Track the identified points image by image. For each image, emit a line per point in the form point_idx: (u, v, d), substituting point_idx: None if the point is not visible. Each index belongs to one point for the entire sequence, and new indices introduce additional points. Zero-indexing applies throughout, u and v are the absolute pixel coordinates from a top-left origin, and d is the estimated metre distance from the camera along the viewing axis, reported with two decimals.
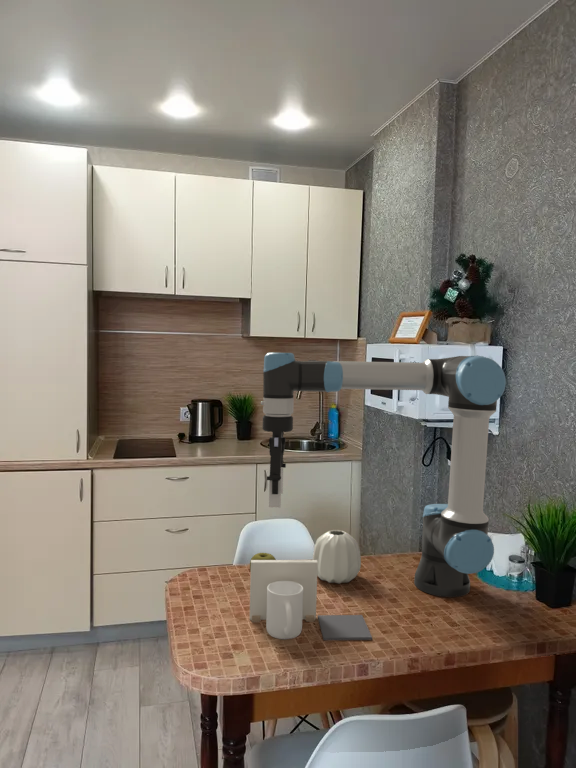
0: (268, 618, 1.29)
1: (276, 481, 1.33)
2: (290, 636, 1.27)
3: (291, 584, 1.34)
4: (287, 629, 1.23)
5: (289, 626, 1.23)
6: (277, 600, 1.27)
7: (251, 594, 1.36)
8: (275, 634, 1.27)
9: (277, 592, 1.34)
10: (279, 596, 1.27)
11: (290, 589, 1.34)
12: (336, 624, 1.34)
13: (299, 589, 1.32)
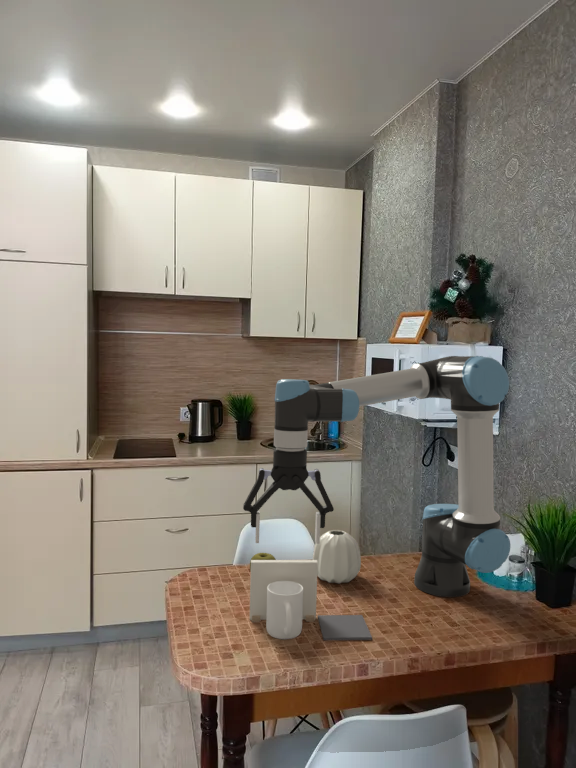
0: (268, 618, 1.29)
1: None
2: (290, 636, 1.27)
3: (291, 584, 1.34)
4: (287, 629, 1.23)
5: (289, 626, 1.23)
6: (277, 600, 1.27)
7: (251, 594, 1.36)
8: (275, 634, 1.27)
9: (277, 592, 1.34)
10: (279, 596, 1.27)
11: (290, 589, 1.34)
12: (336, 624, 1.34)
13: (299, 589, 1.32)
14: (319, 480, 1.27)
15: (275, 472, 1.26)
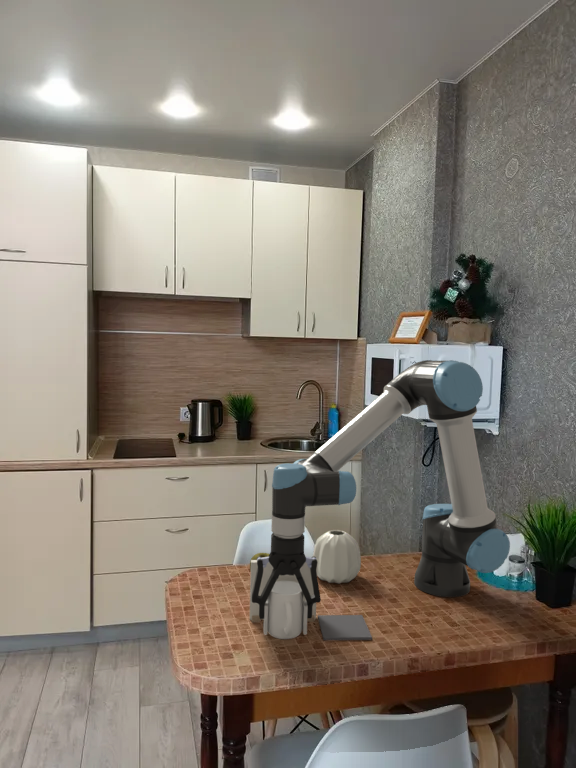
0: (268, 618, 1.29)
1: (259, 604, 1.28)
2: (290, 636, 1.27)
3: (292, 583, 1.34)
4: (287, 629, 1.23)
5: (289, 626, 1.23)
6: (277, 600, 1.27)
7: (251, 594, 1.36)
8: (275, 634, 1.27)
9: (277, 592, 1.34)
10: (280, 596, 1.27)
11: (290, 589, 1.34)
12: (336, 624, 1.34)
13: (299, 589, 1.32)
14: (314, 569, 1.28)
15: (272, 558, 1.27)
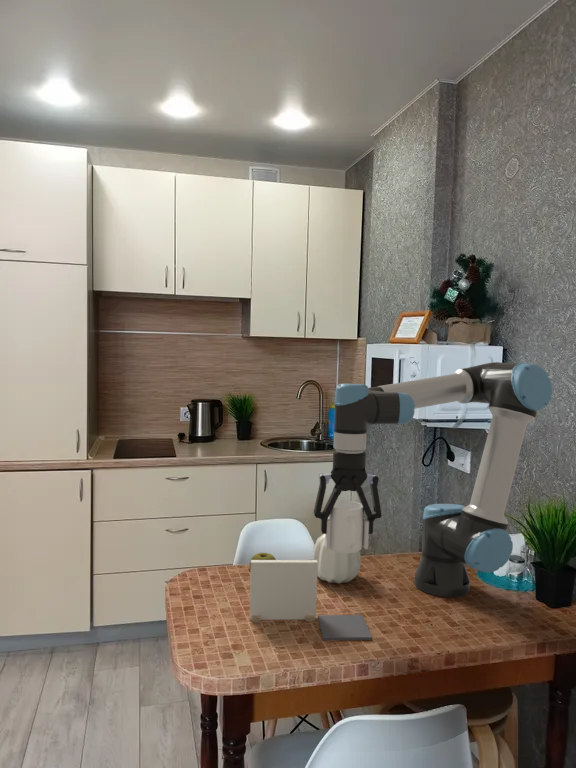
0: (330, 534, 1.32)
1: (321, 520, 1.31)
2: (352, 550, 1.30)
3: (351, 503, 1.37)
4: (351, 541, 1.27)
5: (353, 537, 1.26)
6: (340, 514, 1.30)
7: (251, 594, 1.36)
8: (338, 548, 1.31)
9: None
10: (342, 511, 1.30)
11: (349, 509, 1.37)
12: (336, 624, 1.34)
13: (359, 507, 1.36)
14: (376, 485, 1.31)
15: (335, 474, 1.30)
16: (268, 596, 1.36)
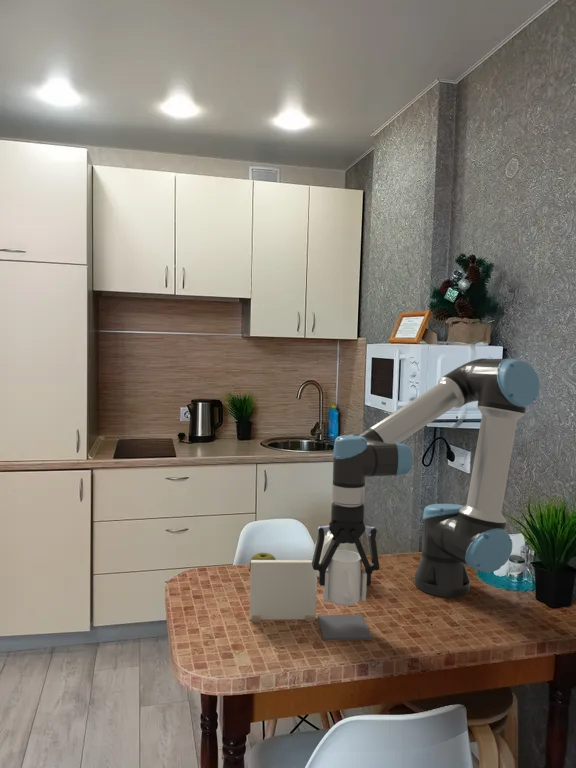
0: (328, 585, 1.33)
1: (319, 571, 1.32)
2: (350, 602, 1.31)
3: (349, 553, 1.38)
4: (349, 594, 1.27)
5: (351, 591, 1.27)
6: (338, 567, 1.31)
7: (251, 594, 1.36)
8: (335, 600, 1.31)
9: None
10: (340, 563, 1.30)
11: (347, 559, 1.38)
12: (336, 624, 1.34)
13: (357, 558, 1.36)
14: (374, 538, 1.31)
15: (333, 526, 1.31)
16: (268, 596, 1.36)
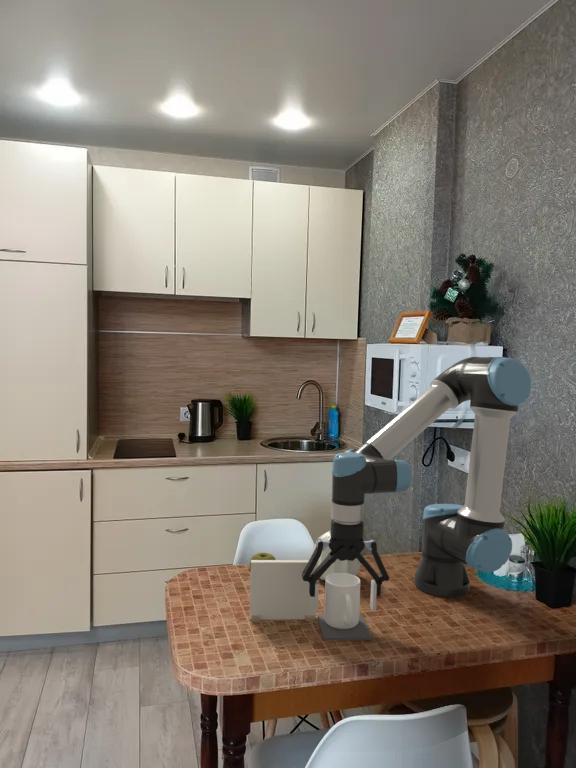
0: (327, 609, 1.33)
1: (309, 582, 1.32)
2: (349, 626, 1.31)
3: (347, 576, 1.38)
4: (348, 619, 1.28)
5: (350, 616, 1.27)
6: (337, 591, 1.31)
7: (251, 594, 1.36)
8: (334, 624, 1.32)
9: (333, 584, 1.38)
10: (339, 587, 1.31)
11: (346, 581, 1.38)
12: None
13: (355, 581, 1.37)
14: (375, 551, 1.32)
15: (333, 544, 1.31)
16: (268, 596, 1.36)
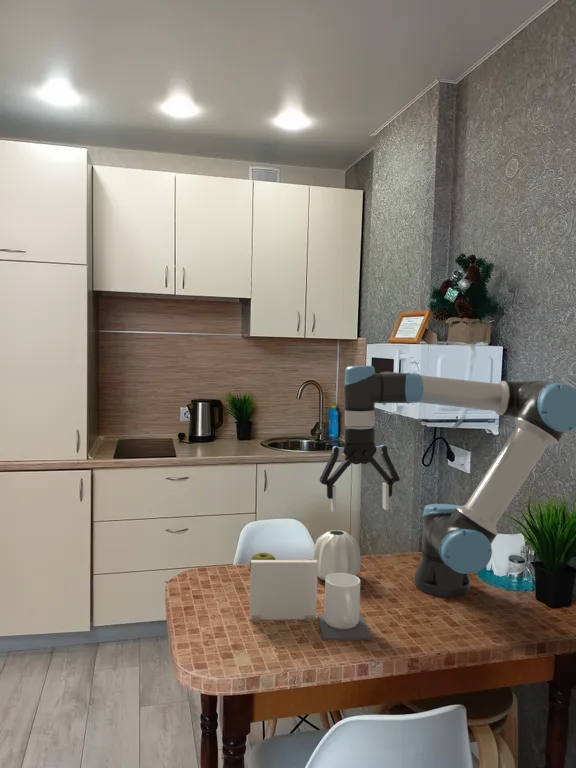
0: (327, 609, 1.33)
1: (327, 486, 1.43)
2: (349, 626, 1.31)
3: (347, 576, 1.38)
4: (348, 619, 1.28)
5: (350, 616, 1.27)
6: (337, 591, 1.31)
7: (251, 594, 1.36)
8: (334, 624, 1.32)
9: (333, 584, 1.38)
10: (339, 587, 1.31)
11: (346, 581, 1.38)
12: None
13: (355, 581, 1.37)
14: (386, 454, 1.43)
15: (348, 448, 1.42)
16: (268, 596, 1.36)
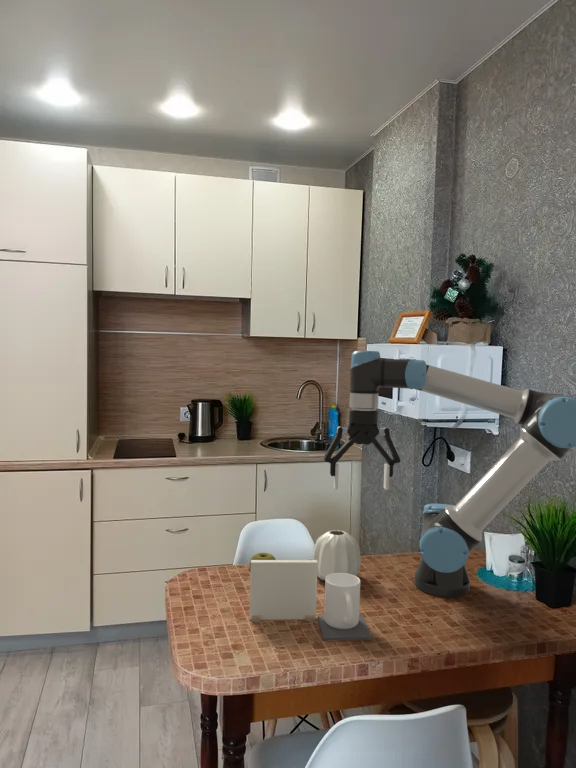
0: (327, 609, 1.33)
1: (330, 464, 1.50)
2: (349, 626, 1.31)
3: (347, 576, 1.38)
4: (348, 619, 1.28)
5: (350, 616, 1.27)
6: (337, 591, 1.31)
7: (251, 594, 1.36)
8: (334, 624, 1.32)
9: (333, 584, 1.38)
10: (339, 587, 1.31)
11: (346, 581, 1.38)
12: None
13: (355, 581, 1.37)
14: (388, 436, 1.50)
15: (351, 429, 1.49)
16: (268, 596, 1.36)
